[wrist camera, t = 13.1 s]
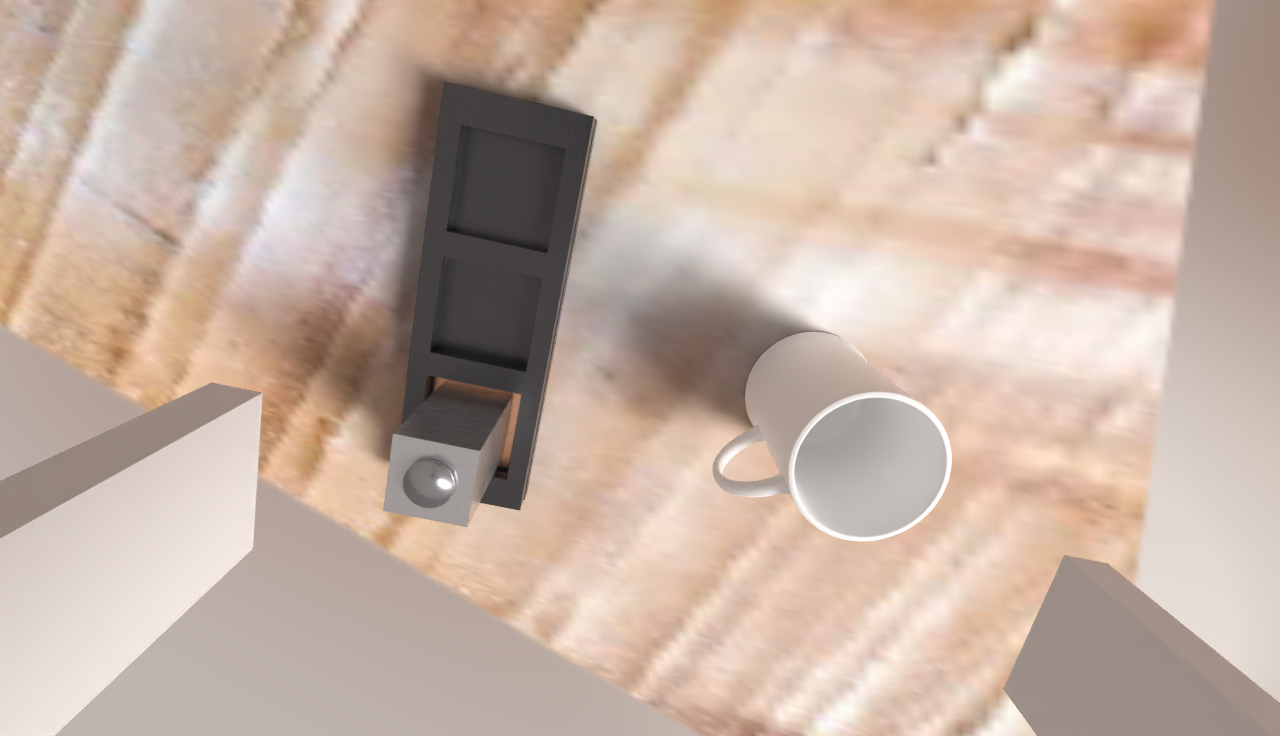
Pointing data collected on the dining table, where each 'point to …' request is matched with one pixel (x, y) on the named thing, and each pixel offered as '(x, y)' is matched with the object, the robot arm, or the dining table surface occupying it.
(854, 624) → the dining table surface
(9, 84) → the dining table surface
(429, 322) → the tray with compartments
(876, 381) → the mug
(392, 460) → the grey block with knob
